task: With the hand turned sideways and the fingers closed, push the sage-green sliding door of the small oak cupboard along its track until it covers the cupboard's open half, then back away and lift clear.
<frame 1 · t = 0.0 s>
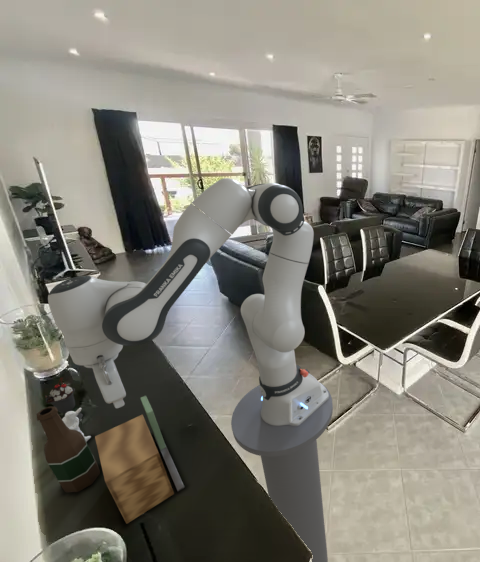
hand: (116, 394, 77), 26 cm above the sideboard, tool pointing down, fingers open, 8 cm apart
cupboard: (143, 485, 83), on the sideboard
sliding door: (153, 422, 92), point 8 cm above the sideboard, slide at 8.0 cm
sundae: (73, 419, 103), on the sideboard
beer bottle: (83, 479, 84), on the sideboard
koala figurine: (77, 446, 94), on the sideboard
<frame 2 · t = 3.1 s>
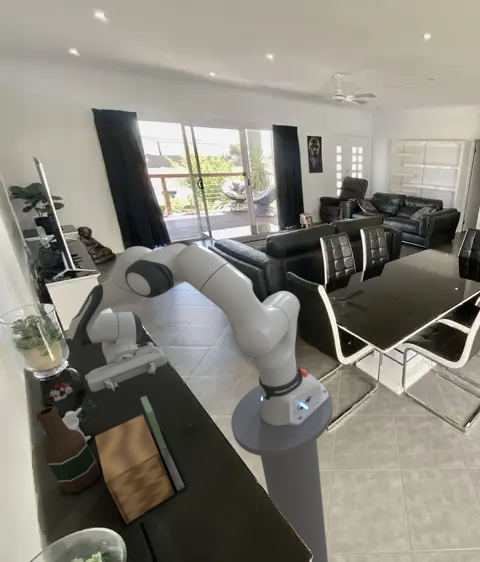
hand: (134, 380, 98), 14 cm above the sideboard, tool horizontal, fingers open, 8 cm apart
nothing on the sideboard moved.
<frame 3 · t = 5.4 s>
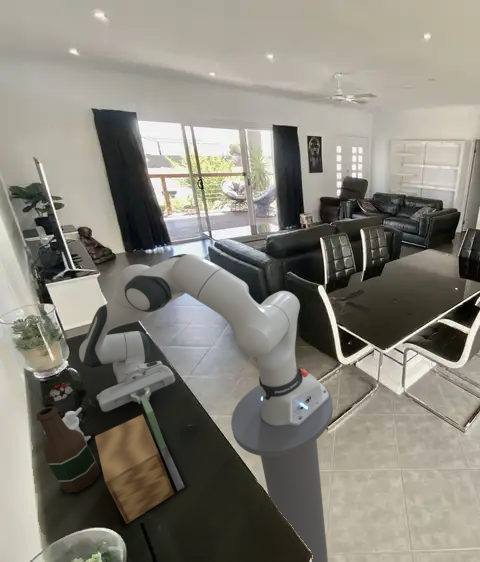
hand: (143, 400, 100), 7 cm above the sideboard, tool horizontal, fingers closed
nothing on the sideboard moved.
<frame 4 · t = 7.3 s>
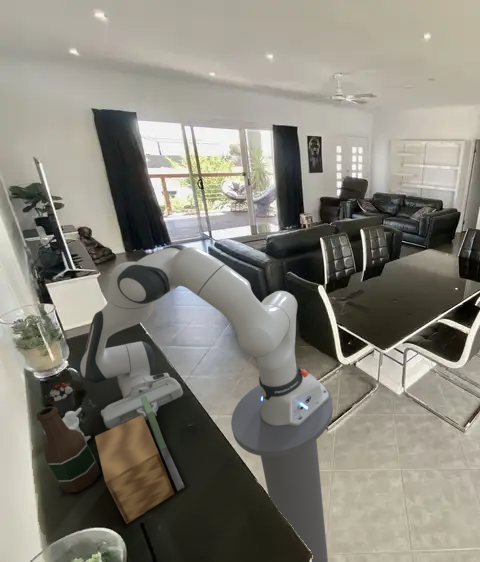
hand: (150, 416, 95), 7 cm above the sideboard, tool horizontal, fingers closed, pressing on sliding door
sliding door: (153, 422, 92), point 8 cm above the sideboard, slide at 8.0 cm, touching gripper
everything else where it was.
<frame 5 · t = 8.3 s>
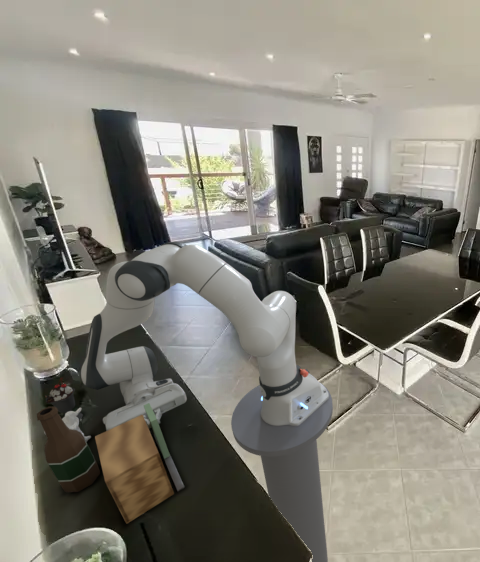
hand: (154, 424, 92), 7 cm above the sideboard, tool horizontal, fingers closed, pressing on sliding door
sliding door: (157, 430, 90), point 8 cm above the sideboard, slide at 4.0 cm, touching gripper
everything else where it was.
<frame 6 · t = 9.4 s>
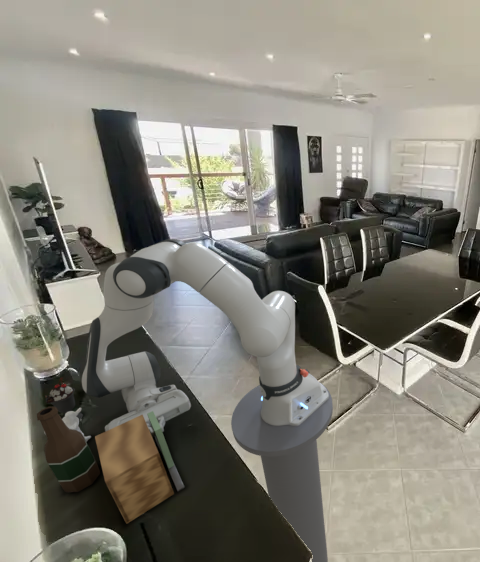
hand: (157, 432, 90), 7 cm above the sideboard, tool horizontal, fingers closed, pressing on sliding door
sliding door: (161, 439, 87), point 8 cm above the sideboard, slide at 0.0 cm, touching gripper
everything else where it was.
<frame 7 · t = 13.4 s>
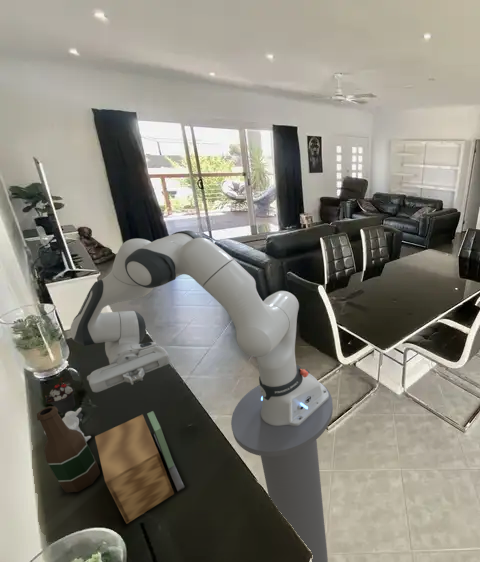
hand: (136, 380, 95), 17 cm above the sideboard, tool horizontal, fingers closed
sliding door: (161, 439, 87), point 8 cm above the sideboard, slide at 0.0 cm
everything else where it was.
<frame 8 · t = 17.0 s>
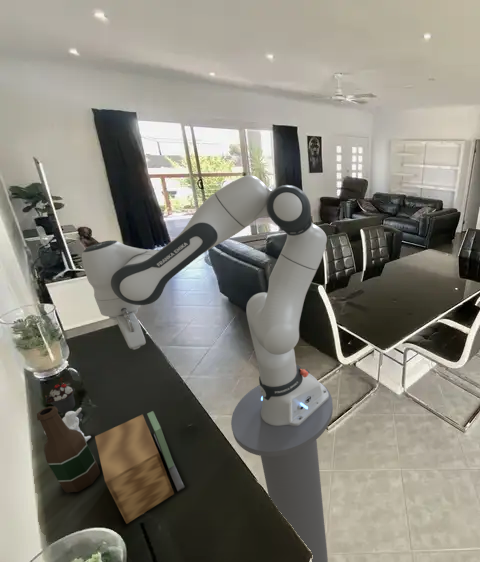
hand: (135, 346, 89), 29 cm above the sideboard, tool pointing down, fingers closed
nothing on the sideboard moved.
at the end: sliding door slide at 0.0 cm; beer bottle moved 0.2 cm from its start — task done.
